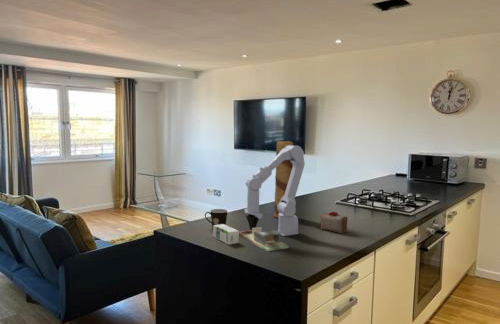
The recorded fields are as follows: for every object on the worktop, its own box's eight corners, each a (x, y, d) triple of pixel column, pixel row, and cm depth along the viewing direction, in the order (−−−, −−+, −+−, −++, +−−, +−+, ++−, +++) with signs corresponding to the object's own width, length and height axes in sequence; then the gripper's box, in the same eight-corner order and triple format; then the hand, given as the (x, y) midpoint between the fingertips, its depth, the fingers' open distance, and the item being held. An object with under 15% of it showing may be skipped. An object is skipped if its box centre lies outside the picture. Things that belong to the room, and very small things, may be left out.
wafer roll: (286, 214, 220) (289, 140, 216) (294, 218, 210) (296, 141, 206) (271, 215, 217) (272, 140, 213) (277, 219, 207) (279, 141, 203)
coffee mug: (230, 230, 183) (231, 211, 182) (217, 233, 177) (217, 213, 176) (216, 225, 191) (216, 207, 190) (203, 228, 185) (203, 209, 184)
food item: (317, 229, 188) (318, 211, 187) (325, 226, 194) (326, 208, 193) (341, 234, 179) (342, 215, 179) (348, 231, 185) (349, 212, 185)
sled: (260, 234, 172) (260, 226, 172) (274, 241, 162) (274, 233, 162) (251, 236, 170) (251, 227, 170) (264, 243, 160) (265, 234, 159)
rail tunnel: (257, 231, 181) (257, 220, 181) (288, 247, 158) (289, 235, 157) (237, 234, 176) (237, 223, 176) (267, 251, 152) (267, 238, 152)
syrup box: (228, 245, 160) (212, 236, 171) (239, 242, 163) (222, 234, 175) (228, 232, 159) (212, 225, 171) (239, 230, 162) (223, 223, 174)
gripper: (238, 200, 177) (238, 227, 178) (253, 205, 165) (252, 234, 166) (251, 199, 181) (250, 225, 182) (266, 204, 168) (265, 233, 169)
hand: (252, 229), depth 174 cm, fingers closed
